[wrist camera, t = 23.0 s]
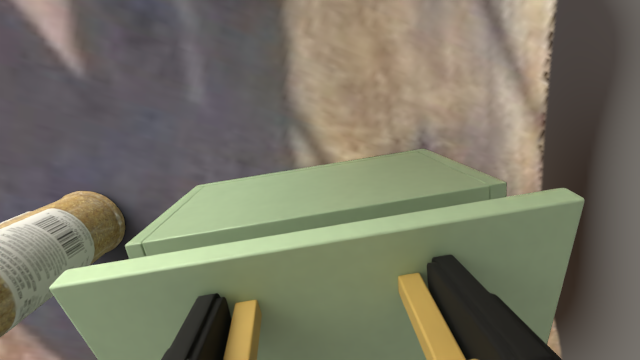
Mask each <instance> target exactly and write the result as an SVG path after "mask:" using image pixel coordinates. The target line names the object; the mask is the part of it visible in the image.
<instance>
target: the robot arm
mask: <svg viewBox="0 0 640 360" xmlns="http://www.w3.org/2000/svg"><path fill="white" fill-rule="evenodd" d="M427 278H428V290H429V292H430V293H431V295H432V297H433V299H434V301H435V303H436V305H437V306H438V308H439V310H440V312H441V314H442V316H443V318H444V319H445V321H446V323H447V325H448V327H449V329H450V331H451V332H452V334H453V336H454V338H455V340H456V342H457V344H458V345H459V347H460V349H461V351H462V353H463V355H464V357H465V358H466V360H469V359H479V360H562V359H561V358H560V357H559V356H558V355H557V354H556V353H555V352H554V351H553V350H552V349H551V348H550V347H549V346H548V345H547V344H546V343H545V342H544V341H543V340H542V339H541V338H540V337H539V336H538V335H537V334H536V333H535V332H534V331H533V330H532V329H530V328H529V327H528V326H527V325H526V324H525V323H524V322H523V321H522V320H521V319H520V318H519V317H518V316H517V315H516V314H515V313H514V312H513V311H512V310H511V309H510V308H509V307H508V306H507V305H506V304H505V303H504V302H503V301H502V300H501V299H500V298H499V297H498V296H497V295H495V294H492V293H489V292H488V291H487V290H486V289H485V288H484V287H483V286H482V285H481V283H480V282H479V281H478V280H477V279H476V278H475V277H474V276H473V275H472V274H471V273H470V272H469V271H468V270H467V269H466V268H465V267H464V266H463V265H462V264H461V263H460V262H459V261H458V260H457V259H456V258H455V257H454V256H453V255H444V256H438V257H433V258H432V262H431V263H427ZM231 320H232V319H231V315H230V311H229V307H228V303H227V300H226V298H225V297H220V295H219V294H218V293H215V294H208V295H202V296H198V298H197V299H196V301H195V303H194V304H193V306H192V308H191V310H190V312H189V314H188V315H187V317H186V319H185V321H184V323H183V324H182V326H181V328H180V330H179V332H178V334H177V335H176V337H175V339H174V341H173V343H172V345H171V346H170V348H169V349H167V351H166V352H165V354H164V355H163V357H162V359H161V360H223V358H224V353H225V348H226V344H227V339H228V334H229V330H230V325H231Z"/></svg>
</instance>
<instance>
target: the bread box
mask: <svg viewBox="0 0 640 360" xmlns="http://www.w3.org/2000/svg"><path fill="white" fill-rule="evenodd" d="M506 192H507V183H506V182H504V181H502V180H499V179H497V178H494V177H492V176H489V175H487V174H485V173H482V172H480V171H477V170H475V169H472V168H470V167H468V166H465V165H463V164H460V163H458V162H455V161H453V160H451V159H448V158H446V157H443V156H441V155H438V154H436V153H434V152H431V151H429V150H426V149H419V150H412V151H406V152H400V153H394V154H388V155H382V156H375V157H369V158H363V159H357V160H351V161H345V162H338V163H332V164H326V165H320V166H314V167H308V168H301V169H295V170H289V171H283V172H277V173H271V174H264V175H258V176H252V177H246V178H240V179H234V180H227V181H221V182H215V183H209V184H203V185H197V186H196V187H195V188H194V189H192V190H191V191H190V192H189V193H187V194H186V195H185V196H184V197H183V198H181V199H180V200H179V201H178V202H176V203H175V204H174V205H173V206H172V207H170V208H169V209H168V210H167V211H166V212H164V213H163V214H162V215H161V216H160V217H158V218H157V219H156V220H155V221H153V222H152V223H151V224H150V225H149V226H147V227H146V228H145V229H144V230H143V231H141V232H140V233H139V234H138V235H137V236H135V237H134V238H133V239H132V240H130V241H129V242H128V243H127V244H126V245H125V248H126V251H127V254H128V257H129V259H134V258H140V257H146V256H152V255H158V254H164V253H170V252H176V251H182V250H188V249H194V248H200V247H206V246H213V245H219V244H225V243H231V242H237V241H243V240H249V239H255V238H261V237H267V236H273V235H279V234H285V233H291V232H297V231H303V230H310V229H316V228H322V227H328V226H334V225H340V224H346V223H352V222H358V221H364V220H370V219H376V218H382V217H388V216H394V215H400V214H407V213H413V212H419V211H425V210H431V209H437V208H443V207H449V206H455V205H461V204H467V203H473V202H479V201H485V200H491V199H497V198H504V197H506Z"/></svg>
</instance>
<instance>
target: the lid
mask: <svg viewBox="0 0 640 360" xmlns="http://www.w3.org/2000/svg"><path fill="white" fill-rule="evenodd" d="M583 205H584V198H582V197H580V196H579V195H577V194H575V193H573V192H571V191H570V190H568V189H565V188H558V189H552V190H546V191H540V192H534V193H528V194H522V195H516V196H510V197H504V198H497V199H491V200H485V201H479V202H473V203H467V204H461V205H455V206H449V207H443V208H437V209H431V210H425V211H419V212H413V213H407V214H400V215H394V216H388V217H382V218H376V219H370V220H364V221H358V222H352V223H346V224H340V225H334V226H328V227H322V228H316V229H310V230H303V231H297V232H291V233H285V234H279V235H273V236H267V237H261V238H255V239H249V240H243V241H237V242H231V243H225V244H219V245H213V246H206V247H200V248H194V249H188V250H182V251H176V252H170V253H164V254H158V255H152V256H146V257H140V258H134V259H128V260H122V261H116V262H109V263H103V264H97V265H91V266H85V267H79V268H73V269H68V270H66V271H64V272H63V273H62V274H61V275H60V276H59V277H58V278H57V280H56V281H55V282H54V283H53V284H52V285H51V286H50V287H49V289H50V291H51V292H52V294H53V295H54V297H55V298H56V300H57V301H58V303H59V304H60V305H61V307H62V308H63V310H64V311H65V313H66V314H67V316H68V317H69V318H70V320H71V321H72V323H73V324H74V326H75V327H76V328H77V330H78V331H79V333H80V334H81V336H82V337H83V339H84V340H85V341H86V343H87V344H88V346H89V347H90V349H91V350H92V352H93V353H94V354H95V356H96V357H97V359H98V360H161V359H162V357H163V355H164V354H165V352H166V351H167V349H169V348H170V346H171V345H172V343H173V341H174V339H175V337H176V335H177V334H178V332H179V330H180V328H181V326H182V324H183V323H184V321H185V319H186V317H187V315H188V314H189V312H190V310H191V308H192V306H193V304H194V303H195V301H196V299H197V298H198V296H202V295H208V294H215V293H218V294H219V295H220V297H225V298H226V300H227V303H228V307H229V311H230V315H231V319H232V320H231V325H230V330H229V334H228V339H227V344H226V348H225V353H224V358H223V360H466V358H465V357H464V355H463V353H462V351H461V349H460V347H459V345H458V344H457V342H456V340H455V338H454V336H453V334H452V332H451V331H450V329H449V327H448V325H447V323H446V321H445V319H444V318H443V316H442V314H441V312H440V310H439V308H438V306H437V305H436V303H435V301H434V299H433V297H432V295H431V293H430V292H429V290H428V278H427V263H431V262H432V258H433V257H438V256H444V255H453V256H454V257H455V258H456V259H457V260H458V261H459V262H460V263H461V264H462V265H463V266H464V267H465V268H466V269H467V270H468V271H469V272H470V273H471V274H472V275H473V276H474V277H475V278H476V279H477V280H478V281H479V282H480V283H481V285H482V286H483V287H484V288H485V289H486V290H487V291H488V292H489V293H492V294H495V295H497V296H498V297H499V298H500V299H501V300H502V301H503V302H504V303H505V304H506V305H507V306H508V307H509V308H510V309H511V310H512V311H513V312H514V313H515V314H516V315H517V316H518V317H519V318H520V319H521V320H522V321H523V322H524V323H525V324H526V325H527V326H528V327H529V328H530V329H532V330H533V331H534V332H535V333H536V334H537V335H538V336H539V337H540V338H541V339H542V340H543V341H544V342H545V343H546V344H547V342H548V338H549V334H550V330H551V327H552V323H553V319H554V315H555V311H556V308H557V304H558V300H559V296H560V292H561V289H562V285H563V280H564V277H565V273H566V269H567V266H568V262H569V258H570V254H571V250H572V247H573V243H574V239H575V235H576V231H577V227H578V224H579V220H580V216H581V212H582V208H583ZM469 360H479V359H469Z"/></svg>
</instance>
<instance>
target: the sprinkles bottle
mask: <svg viewBox="0 0 640 360" xmlns="http://www.w3.org/2000/svg"><path fill="white" fill-rule="evenodd" d="M124 233H125V221H124V217H123V215H122V213H121V211H120V210H119V208H118V207H117V206H116V205H115V204H114V203H113V202H112V201H111V200H110V199H108V198H107V197H105V196H103V195H101V194H98V193H95V192H88V191H77V192H73V193H71V194H68V195H65V196H64V197H63V198H62V199H60V200H59V201H56V202H54V203H51V204H49V205H47V206H44V207H42V208H39V209H37V210H35V211H32V212H26V213H24V214H21V215H19V216H17V217H14V218H12V219H9V220H7V221H4V222H2V223H0V337H1V336H3V335H4V334H5V333H7V332H8V331H9V330H11V329H12V328H13V327H14V326H16V325H17V324H18V323H19V322H21V321H22V320H23V319H24V318H26V317H27V316H28V315H29V314H30V313H32V312H33V311H34V310H36V309H37V308H38V307H39V306H41V305H42V304H43V303H44V302H46V301H47V300H48V299H50V298H51V297H52V296H53V294H52V292H51V291H50V289H49V287H50V286H51V285H52V284H53V283H54V282H55V281H56V280H57V278H58V277H59V276H60V275H61V274H62V273H63V272H64V271H66V270H68V269H73V268H79V267H85V266H89V265H91V264H92V263H93V262H95V261H96V260H97V259H98V258H100V257H101V256H102V255H103V254H105V253H106V252H109V251H111V250H113V249H114V248H115V247H117V245H118V244H119V243H120V242H121V241H122V239H123V236H124Z"/></svg>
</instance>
